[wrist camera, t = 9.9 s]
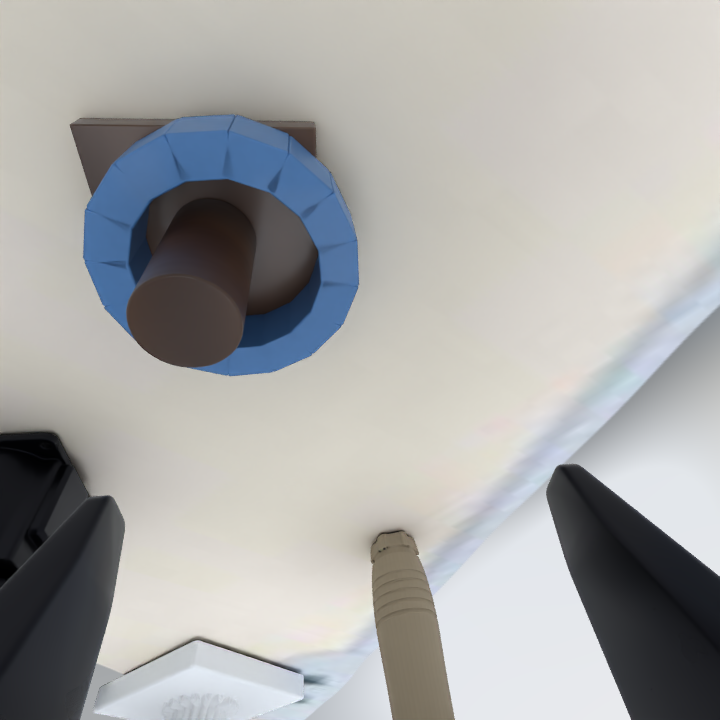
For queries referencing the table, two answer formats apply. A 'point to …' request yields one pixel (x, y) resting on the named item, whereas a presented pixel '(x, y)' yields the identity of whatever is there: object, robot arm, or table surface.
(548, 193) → the table surface
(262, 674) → the trophy
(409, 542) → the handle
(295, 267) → the peg stand
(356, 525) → the table surface
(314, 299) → the tape
